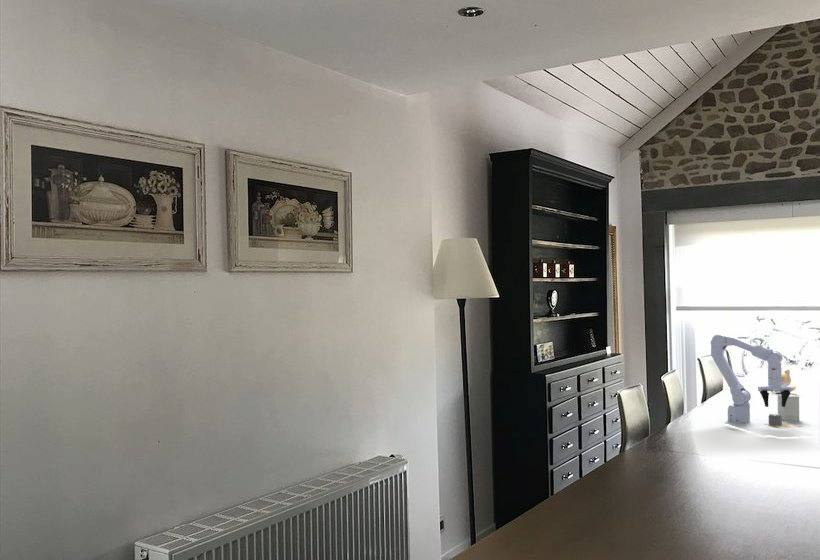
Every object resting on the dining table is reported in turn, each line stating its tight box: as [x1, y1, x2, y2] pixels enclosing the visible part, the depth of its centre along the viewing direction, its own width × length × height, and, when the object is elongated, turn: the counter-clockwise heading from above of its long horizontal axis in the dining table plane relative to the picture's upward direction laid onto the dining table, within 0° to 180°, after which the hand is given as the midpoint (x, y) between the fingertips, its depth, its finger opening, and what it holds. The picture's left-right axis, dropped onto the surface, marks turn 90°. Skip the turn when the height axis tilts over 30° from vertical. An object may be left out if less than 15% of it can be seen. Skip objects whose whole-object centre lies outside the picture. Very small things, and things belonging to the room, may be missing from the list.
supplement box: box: [777, 394, 800, 422], centre depth 370 cm, size 7×7×13 cm
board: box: [764, 422, 802, 429], centre depth 354 cm, size 13×10×1 cm
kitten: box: [772, 368, 797, 394], centre depth 460 cm, size 15×10×15 cm
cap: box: [768, 413, 783, 426], centre depth 356 cm, size 5×5×4 cm
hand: (775, 406), depth 357 cm, fingers open, 7 cm apart
